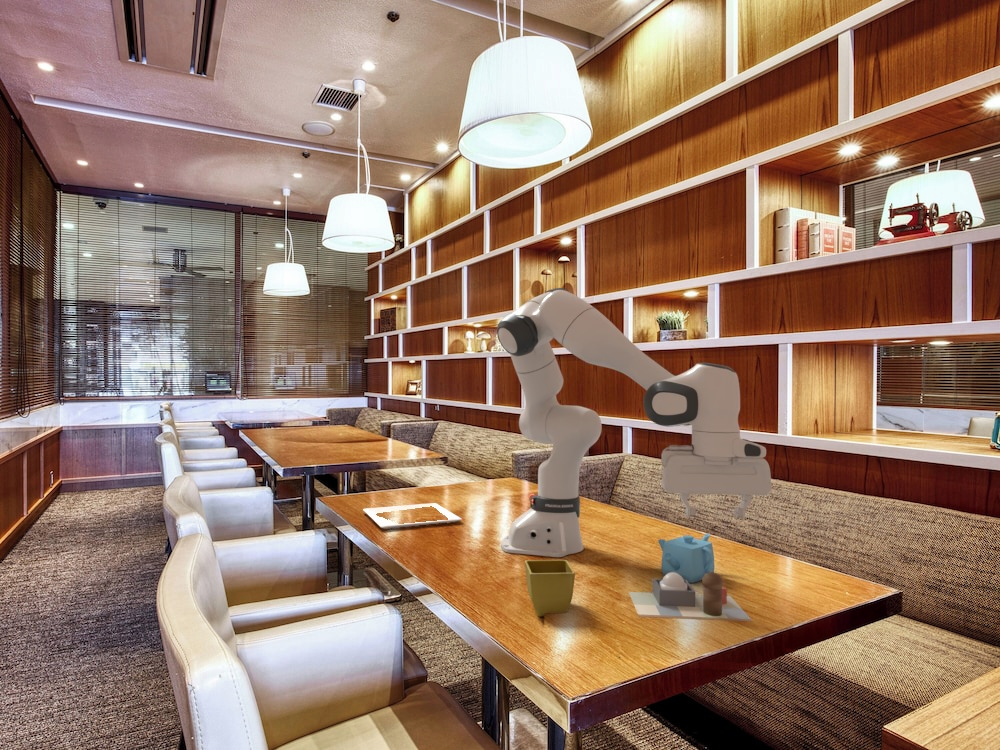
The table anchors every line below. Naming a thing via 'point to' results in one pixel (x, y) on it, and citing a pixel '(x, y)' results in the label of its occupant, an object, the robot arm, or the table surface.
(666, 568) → the teapot
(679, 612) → the board
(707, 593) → the pawn
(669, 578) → the dome
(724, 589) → the red cube
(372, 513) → the white frame
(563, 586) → the flower pot
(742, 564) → the table surface
